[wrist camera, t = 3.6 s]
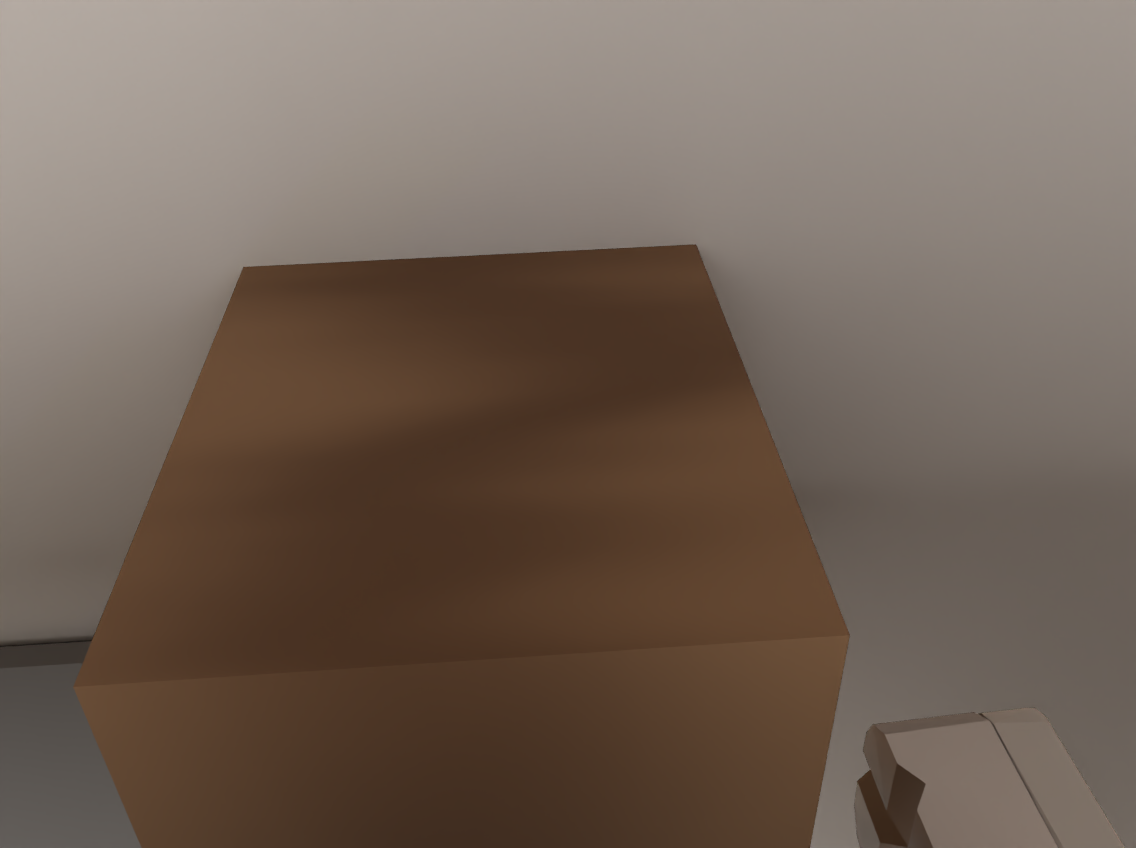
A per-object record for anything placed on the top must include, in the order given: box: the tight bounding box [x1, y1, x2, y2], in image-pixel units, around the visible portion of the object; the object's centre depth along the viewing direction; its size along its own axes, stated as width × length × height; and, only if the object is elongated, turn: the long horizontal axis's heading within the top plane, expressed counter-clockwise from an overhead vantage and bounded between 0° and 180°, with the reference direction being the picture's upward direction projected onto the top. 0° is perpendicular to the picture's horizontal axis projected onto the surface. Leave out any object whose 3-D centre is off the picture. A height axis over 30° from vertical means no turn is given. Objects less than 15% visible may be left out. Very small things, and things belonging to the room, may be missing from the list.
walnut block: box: [73, 245, 850, 848], centre depth 11 cm, size 5×5×6 cm
